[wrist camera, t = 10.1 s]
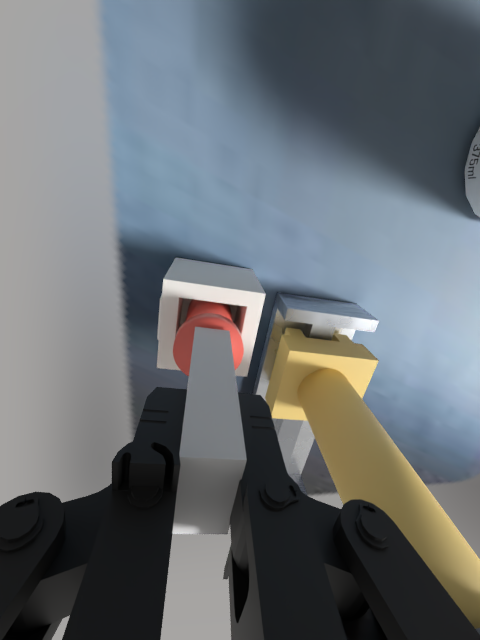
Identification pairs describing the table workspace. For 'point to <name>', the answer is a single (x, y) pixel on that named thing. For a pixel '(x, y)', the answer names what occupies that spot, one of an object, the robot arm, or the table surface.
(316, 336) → the rail
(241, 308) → the white button housing
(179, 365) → the button
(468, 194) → the supplement can
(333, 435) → the sliding lever handle
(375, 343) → the table surface
